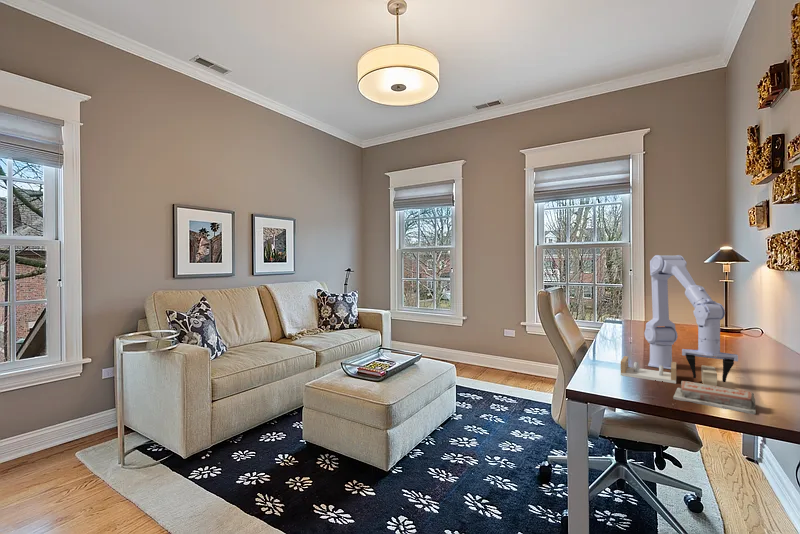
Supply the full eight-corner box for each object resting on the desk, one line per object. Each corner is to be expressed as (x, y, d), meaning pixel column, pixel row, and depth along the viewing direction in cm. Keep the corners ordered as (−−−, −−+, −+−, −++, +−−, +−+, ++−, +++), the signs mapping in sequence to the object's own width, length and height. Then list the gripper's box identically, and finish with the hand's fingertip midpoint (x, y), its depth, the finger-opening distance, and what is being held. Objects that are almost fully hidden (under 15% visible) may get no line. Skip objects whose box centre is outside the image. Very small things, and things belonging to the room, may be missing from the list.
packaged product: (755, 389, 108) (756, 398, 100) (755, 406, 108) (756, 416, 100) (676, 377, 120) (672, 384, 112) (676, 392, 120) (672, 400, 112)
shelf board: (701, 379, 133) (701, 365, 133) (714, 381, 131) (714, 366, 131) (703, 387, 124) (703, 372, 124) (717, 389, 122) (717, 373, 122)
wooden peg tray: (624, 368, 146) (624, 355, 146) (676, 376, 136) (676, 362, 136) (620, 375, 137) (620, 361, 137) (676, 383, 127) (676, 368, 127)
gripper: (682, 338, 128) (682, 378, 128) (739, 343, 120) (739, 386, 120) (682, 335, 134) (682, 373, 134) (736, 340, 125) (736, 381, 125)
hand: (709, 379), depth 127 cm, fingers open, 7 cm apart
